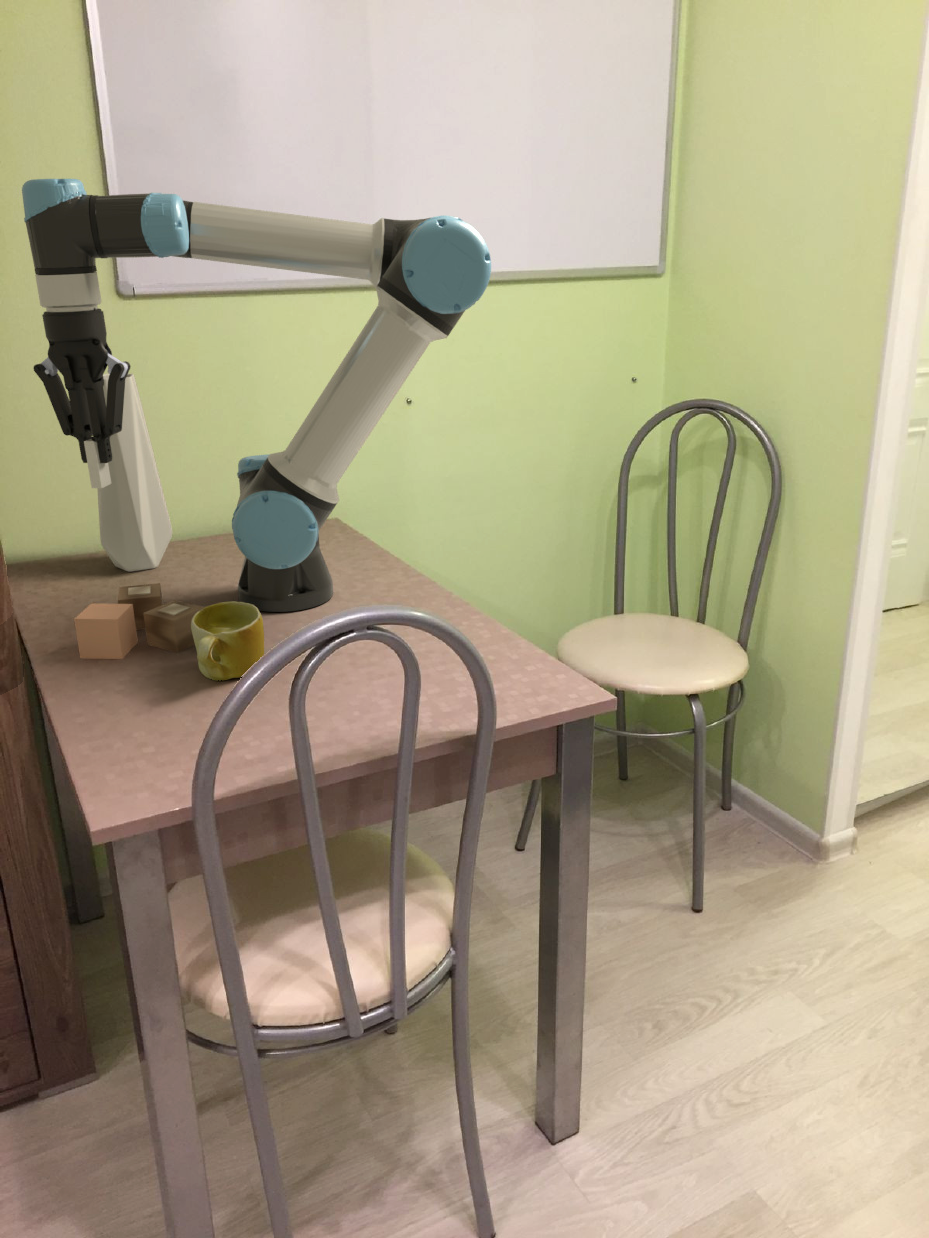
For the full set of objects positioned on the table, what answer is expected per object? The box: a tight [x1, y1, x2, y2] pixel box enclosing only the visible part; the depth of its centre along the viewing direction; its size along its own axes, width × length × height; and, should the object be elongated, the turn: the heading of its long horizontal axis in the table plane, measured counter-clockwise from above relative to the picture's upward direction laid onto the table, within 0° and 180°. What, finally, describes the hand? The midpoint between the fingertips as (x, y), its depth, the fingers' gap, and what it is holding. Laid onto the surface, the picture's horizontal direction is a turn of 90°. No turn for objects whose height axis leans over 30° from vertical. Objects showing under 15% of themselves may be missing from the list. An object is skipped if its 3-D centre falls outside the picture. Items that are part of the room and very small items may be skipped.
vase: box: [96, 373, 173, 573], centre depth 174 cm, size 12×12×33 cm
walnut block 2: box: [143, 599, 206, 653], centre depth 145 cm, size 6×6×5 cm
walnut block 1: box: [117, 582, 164, 630], centre depth 153 cm, size 6×6×5 cm
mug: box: [191, 600, 265, 682], centre depth 135 cm, size 12×10×10 cm
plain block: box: [73, 603, 139, 660], centre depth 143 cm, size 6×6×6 cm
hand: (101, 485), depth 140 cm, fingers closed
